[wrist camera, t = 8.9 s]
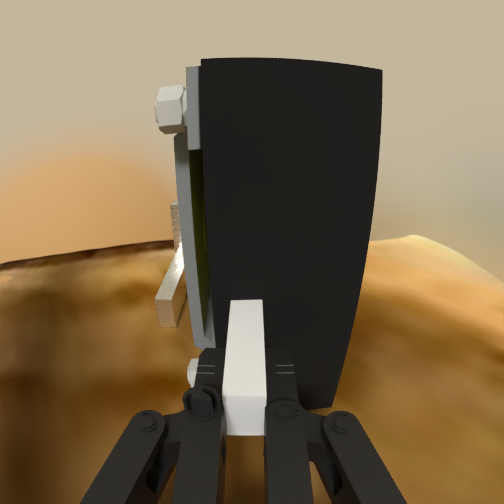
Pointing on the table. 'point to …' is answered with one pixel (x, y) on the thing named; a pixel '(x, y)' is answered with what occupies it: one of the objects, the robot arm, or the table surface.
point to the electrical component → (276, 202)
